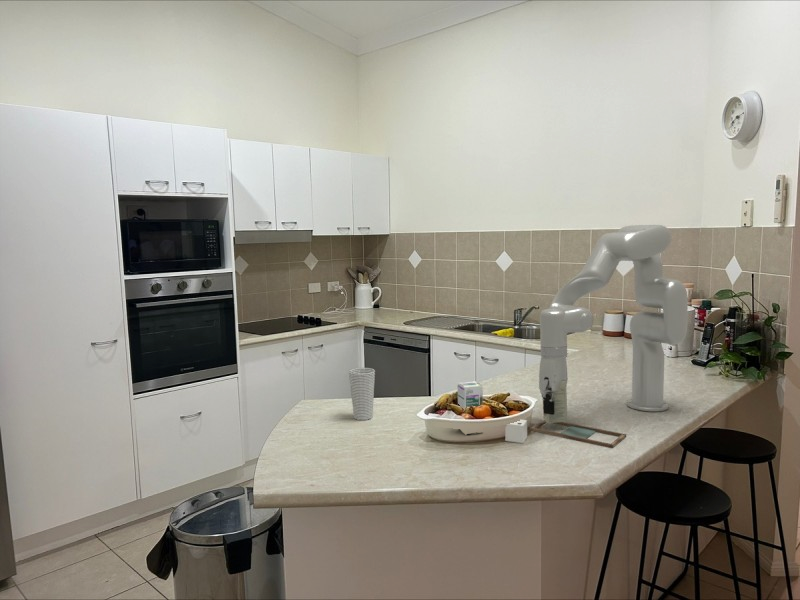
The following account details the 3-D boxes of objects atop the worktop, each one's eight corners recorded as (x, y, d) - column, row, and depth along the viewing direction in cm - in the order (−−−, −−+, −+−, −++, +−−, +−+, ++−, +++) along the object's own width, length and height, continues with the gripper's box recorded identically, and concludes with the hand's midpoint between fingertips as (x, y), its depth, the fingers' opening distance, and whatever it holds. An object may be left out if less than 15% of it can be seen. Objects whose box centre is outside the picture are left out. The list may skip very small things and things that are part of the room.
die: (509, 435, 167) (509, 418, 166) (527, 437, 165) (527, 419, 164) (505, 440, 163) (505, 423, 162) (523, 443, 160) (523, 425, 160)
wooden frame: (546, 421, 179) (546, 418, 178) (626, 436, 163) (626, 434, 163) (530, 430, 170) (530, 427, 170) (612, 448, 155) (612, 445, 155)
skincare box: (563, 417, 174) (563, 377, 172) (567, 422, 170) (567, 381, 168) (541, 418, 174) (541, 378, 172) (545, 423, 170) (545, 382, 168)
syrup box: (465, 435, 168) (464, 386, 166) (457, 429, 173) (457, 382, 172) (483, 433, 169) (483, 385, 167) (475, 427, 175) (475, 380, 173)
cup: (360, 412, 192) (358, 366, 191) (381, 415, 188) (380, 369, 186) (344, 419, 185) (343, 372, 183) (366, 423, 181) (365, 374, 179)
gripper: (554, 344, 178) (555, 400, 180) (528, 356, 165) (529, 416, 167) (578, 346, 173) (578, 404, 176) (552, 358, 160) (553, 420, 162)
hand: (554, 409), depth 171 cm, fingers closed on skincare box, 7 cm apart
